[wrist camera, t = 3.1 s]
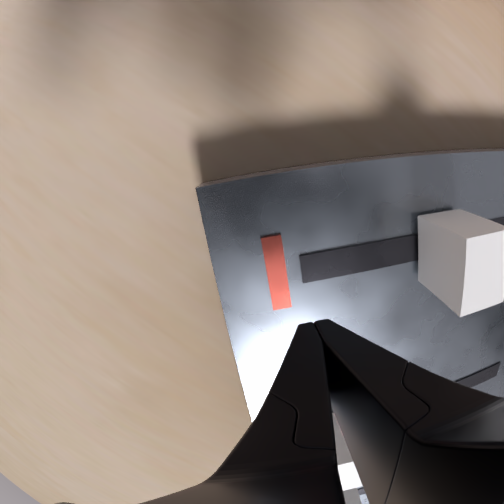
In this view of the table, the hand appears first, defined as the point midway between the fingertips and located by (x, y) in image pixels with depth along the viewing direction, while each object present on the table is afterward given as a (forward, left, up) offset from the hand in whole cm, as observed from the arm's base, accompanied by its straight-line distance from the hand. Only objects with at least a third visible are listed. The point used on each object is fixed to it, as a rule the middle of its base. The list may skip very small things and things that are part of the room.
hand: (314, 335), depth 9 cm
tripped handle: (-7, 0, -4) cm, 8 cm away
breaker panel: (-7, +10, -7) cm, 14 cm away
